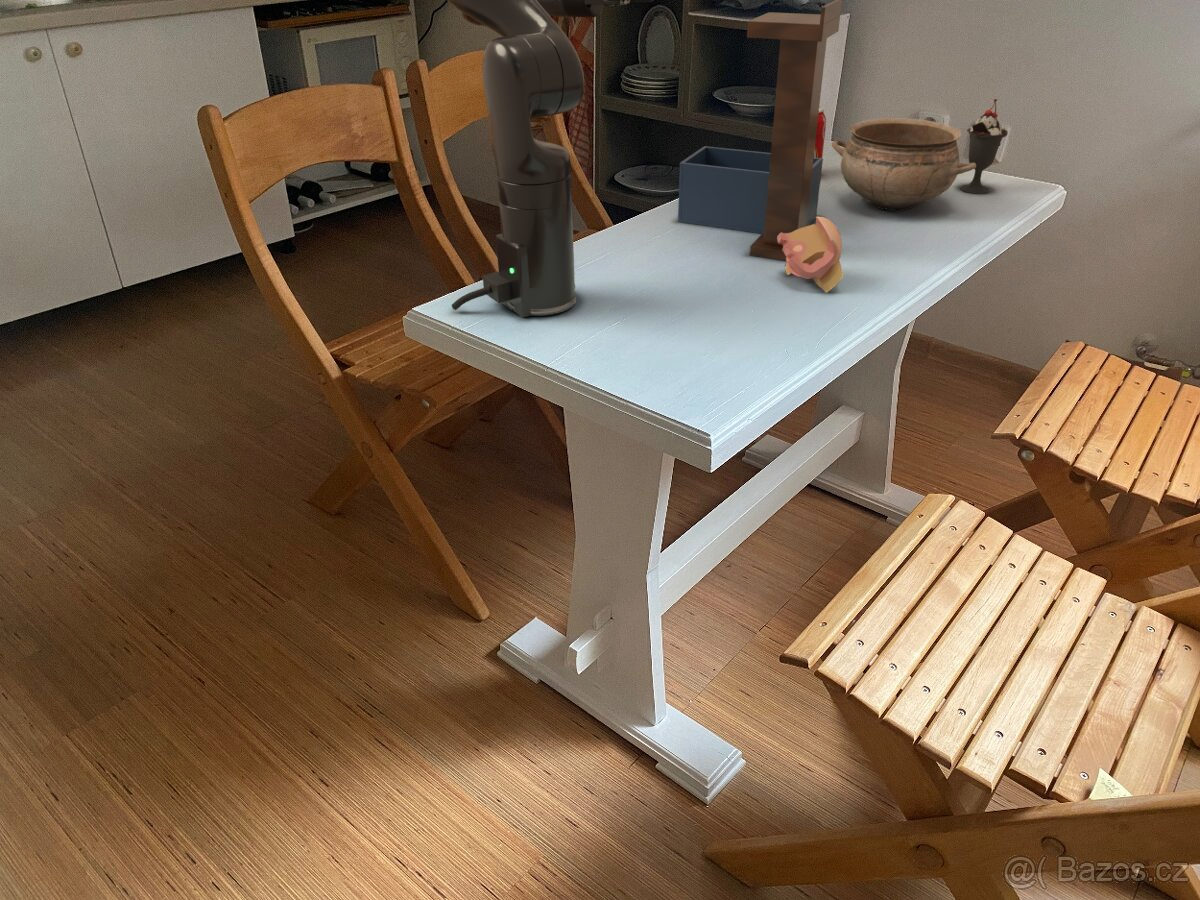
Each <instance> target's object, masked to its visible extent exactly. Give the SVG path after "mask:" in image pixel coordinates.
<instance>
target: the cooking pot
mask: <svg viewBox="0 0 1200 900" xmlns="http://www.w3.org/2000/svg"><path fill="white" fill-rule="evenodd" d="M849 131H850V133H851V137H850V138H849V140H848V142H846V141H844V140H842V139H835V140H833V141H832V143H831V147H832V148H833V150H835V151H836V153H837V154H838V155H839V156H841V162H840V170H841V174H842V176H843V177H842V178H843V179H844V182H845V183H846V185H847V186H848V187H849V188H850V189H851V190H852V191H853V192H854V193H855V194H857V195H858V196H860V197H861V198H863V199H864V200H866V201H868V202H869V203H871V204H872V205H873V206H874V207H876V208H878V209H882V210H887V211H898V212H899V211H907V210H911V209H912V208H914V207H917V206H919V205H921V204H924V203H926V202H929V201H932V200H933V199H936V198H938V197H939V196H941V195H942V194H943V193H944V192H946V191H947V190H949V189H950V188H951V186H952V185H953V183H954V181H955V180H956V179H957V177H958V175H962V174H964V173H967V172H970V171H973V170H975V168H976V164H975V163H969V162H968V163H961V162H960V152H959V147H958V143H957V140H959V139H960V138H961V136H962V132H961V131H960V130H959V129H957V128H956V127H954V126H952V125H948V124H946V123H942V122H938V121H934V120H933V121H931V120H925V119H919V118H917V119H916V118H900V117H888V118H887V117H885V118H873V119H866V120H862V121H858V122H856V123H854V124H852V125H851V126H849Z"/></svg>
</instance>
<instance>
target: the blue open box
mask: <svg viewBox="0 0 1200 900" xmlns="http://www.w3.org/2000/svg"><path fill="white" fill-rule="evenodd" d="M770 158H771V152H763V151H755V150H744V149H735V148H725V147H715V146H708V145H704V146H702V147H701V148H700V149H698V150H697V151H695V152H694V153H692V154H691V155H689V156H688V157H686V158H685V159H683V160H682V161H680V162H679V171H678V172H679V173H678V176H679V177H678V181H679V182H678V204H677V206H678V208H677V209H678V210H677V222H678V223H684V224H690V225H691V224H692V225H699V226H706V227H712V228H720V229H727V230H734V231H741V232H749V233H755V234H761V235H762V234H763V232H764V229H765V217H766V205H767V193H768V182H769V170H770ZM823 162H824V159H823V157H822V158H814V159H813V168H812V177H811V186H810V195H809V204H808V213H807V222H806V226H810V225H811V224H812V222H813V221H814V220H816V217H817V213H818V205H819V196H820V187H821V180H822V179H821V178H822V169H823Z"/></svg>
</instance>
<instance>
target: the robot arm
mask: <svg viewBox="0 0 1200 900" xmlns="http://www.w3.org/2000/svg"><path fill="white" fill-rule="evenodd" d="M446 1H447V2H448V3H449V4H450V5H452V6H453V7H454V8H456V9H457V10H458V11H459V14H460V15H461V16H462V18H463V19H464V20H466V21H467V22H468V23H470V24H472V25H475V26H479V27H486V28H488V29H490V30H491V31H493V32H495V33H496V34H498V35H500V36H501V37H496V38H494V39H492V40H491V41H490V42H488V44H487V45H486V47H485V49H484V53H483V58H482V83H483V91H484V98H485V99H484V100H485V106H486V113H487V121H488V122H487V123H488V128H489V129H488V130H489V139H490V144H491V150H492V154H493V157H494V162H495V168H496V178H497V191H498V192H497V193H498V204H499V216H500V229H501V233H499V234H496V236H495V244H496V256H497V257H496V258H497V265H498V268H497V269H498V271H495V272H491V273H487V274H484V275H482V285H483V286H482V287H483V288H479V289H476V290H473V291H470V292H468V293H466V294H464V295H462V296H461V297H459V298H458V299H457V300H455V301H454V302H453V303H452V304H451V308H452V309H453V310H454V311H457V310H458V309H459V308H461V307H462V306H463V305H464V304H466V303H468V302H470V301H472V300H474V299H475V300H476V299H478V298H480V297H484V296H487V297H489V298H490V299H492V300H493V301H494V302H496V303H498V304H503V305H504V306H506V308H509V310H511V311H513V312H514V313H516V314H517V315H519V316H520V317H522V318H526V317H527V318H528V317H533V316H534V317H536V316H537V317H538V316H539V317H542V316H551V315H557V314H560V313H563V312H566V311H568V310H570V309H572V308H573V307H574V306H575V305H576V303H577V292H576V281H575V280H576V277H575V252H574V226H573V225H574V224H573V222H574V221H573V220H574V219H573V196H572V194H573V193H572V191H573V190H572V168H571V166H572V165H571V155H570V153H569V151H568V150H567V149H566V148H565V147H564V146H562V145H560V144H557V143H553V142H550V141H549V142H548V141H545V140H544V141H543V140H539V139H537V138H535V137H534V133H533V128H532V123H531V120H533V119H538V118H544V117H551V116H555V115H560V114H564V113H568V112H570V111H572V110H573V109H575V108H576V107H577V106H578V105H579V104H580V103H581V101H582V99H583V96H584V93H585V84H586V83H585V74H584V73H585V72H584V70H583V65H582V63H581V60H580V57H579V54H578V52H577V51H576V49H575V46H574V44H573V43H572V41H571V40H570V38H569V37H568V36H567V34H566V33H565V32H564V31H563V30H562V28H561V27H560V26H559V24H557V22H556V21H555V20H554V19H553V18H552V17H557V18H596V17H598V16H599V15H601V13H602V11H603V10H604V7H619V6H623V5H628V4H630V3H653V2H654V1H655V0H446Z"/></svg>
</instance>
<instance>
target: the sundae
mask: <svg viewBox="0 0 1200 900" xmlns="http://www.w3.org/2000/svg"><path fill="white" fill-rule="evenodd" d="M997 101H998V99H997V98H994V99H993V105H992V106H991V108H990V109H986V110H985V112H984V114H983V115H981V116H980V117H978V119H977V120H976V122H975V123H973V124H972V125H971V127H969V128H968V129H966V132H968V134H969V144H968V145H969V146H968V164H969V163H975V164H976V168H975V169H974V175H973V178H972V180H971V182H970V183H967V184H962V185H961V186H960V187H959V189H960V190H961V191H962V192H964V193H969V194H975V195H977V194H987V193H989V192H990V191H991V190H990V188H989V187H988V186H985V185H983V184H982V174H983V172H984V171H985V170H986V169H987V168H989V167H990V166H991V165H993V163H994V161H995V158H996V156H997V154H998V150H999V147H1000V145H1001V142H1002V140H1003V138H1005V137H1007V136H1008V134H1009V132H1008V130H1007V129H1006V128H1002V124H1001V122H1000V121H999V120H998V113H997ZM993 108H994V112H993V110H992V109H993Z"/></svg>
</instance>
